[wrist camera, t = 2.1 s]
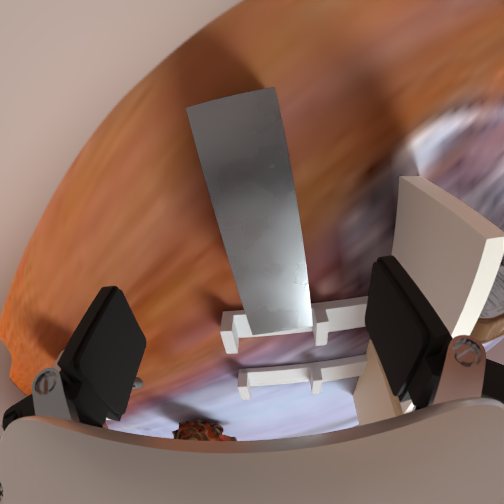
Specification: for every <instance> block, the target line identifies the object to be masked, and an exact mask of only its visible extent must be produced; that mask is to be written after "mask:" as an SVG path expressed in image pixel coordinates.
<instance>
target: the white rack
mask: <svg viewBox="0 0 504 504" xmlns="http://www.w3.org/2000/svg"><path fill="white" fill-rule="evenodd" d="M503 254H504V232H503V231H502V230H501V229H499V228H498V227H497V226H495V225H494V224H493V223H492V222H490V221H489V220H488V219H486V218H485V217H483V216H482V215H481V214H479V213H478V212H477V211H475V210H474V209H472V208H471V207H469V206H468V205H466V204H465V203H463V202H462V201H460V200H459V199H457V198H456V197H454V196H453V195H451V194H450V193H448V192H446V191H445V190H443V189H442V188H440V187H438V186H437V185H435V184H433V183H432V182H430V181H428V180H426V179H425V178H423V177H421V176H399V188H398V203H397V214H396V224H395V232H394V240H393V248H392V254H391V256H394V257H395V258H396V259H397V260H398V261H399V263H400V264H401V265H402V266H403V268H404V269H405V270H406V272H407V273H408V274H409V275H410V277H411V278H412V279H413V281H414V282H415V283H416V285H417V286H418V287H419V289H420V290H421V292H422V293H423V294H424V296H425V297H426V298H427V300H428V301H429V303H430V304H431V305H432V307H433V308H434V310H435V311H436V313H437V314H438V316H439V317H440V319H441V320H442V322H443V323H444V325H445V326H446V328H447V329H448V331H449V332H450V335H451V336H452V338H454V337H456V336H459V335H469V336H470V334H471V332H472V330H473V328H474V326H475V324H476V322H477V320H478V318H479V316H480V313H481V311H482V309H483V307H484V305H485V302H486V300H487V298H488V295H489V293H490V290H491V288H492V285H493V283H494V280H495V277H496V275H497V272H498V269H499V266H500V263H501V260H502V257H503ZM367 301H368V296H364V297H357V298H350V299H343V300H335V301H327V302H319V303H311V311H312V321H313V326H309V327H304V328H298V329H292V330H286V331H279V332H273V333H266V334H259V335H252V332H251V329H250V326H249V323H248V320H247V317H246V314H245V311H244V310H237V311H223V314H222V321H221V328H220V333H221V336H222V340H223V343H224V346H225V349H226V353H227V354H229V353H238V342H239V338H243V337H258V336H270V335H281V334H291V333H300V332H309V331H313V334H314V339H315V345H316V346H321V345H327V337H328V332H333V331H340V330H347V329H353V328H359V327H365V312H366V307H367ZM356 376H359V378H358V382H357V385H356V388H355V391H354V394H353V399H354V403H355V407H356V412H357V416H358V421H359V425H360V426H361V425H365V424H370V423H374V422H378V421H381V420H385V419H389V418H392V417H396V416H399V415H402V414H406V413H409V412H412V410H413V407H414V405H413V403H412V401H411V399H410V400H407V401H404V402H401V403H400V401H399V398H398V396H394V395H393V393H392V391H391V388H390V385H389V383H388V380H387V377H386V375H385V372H384V370H383V367H382V365H381V362H380V359H379V357H378V355H377V352H376V350H375V347H374V345H373V342H372V340H371V339H370V340H369V344H368V348H367V351H366V354H364V355H358V356H353V357H347V358H341V359H335V360H328V361H321V362H313V363H305V364H296V365H286V366H275V367H262V368H245V369H239V374H238V389H239V392H240V395H241V398H242V400H246V399H251V386H262V385H276V384H287V383H297V382H306V381H310V383H311V390H312V394H317V393H321V387H322V382H327V381H333V380H339V379H345V378H351V377H356Z"/></svg>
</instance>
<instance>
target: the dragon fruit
mask: <svg viewBox="0 0 504 504" xmlns="http://www.w3.org/2000/svg"><path fill="white" fill-rule="evenodd" d="M222 432H223V428H222V427H221V426H220V425H219V424H212V425H209V423H208V422H206V421H204V420H200V419H195V420H194V421H193V422H189V421H183V422H181V423H179V429H178V430H176V431H173V432H172V433H173V435H174V439H180V440H195V441H237V440H236V438H235V437H229V436H226V435H222Z"/></svg>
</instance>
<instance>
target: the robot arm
mask: <svg viewBox="0 0 504 504" xmlns="http://www.w3.org/2000/svg"><path fill="white" fill-rule="evenodd" d="M365 326H366V328H367V331H368V333H369V335H370V338H371V340H372V342H373V345H374V347H375V350H376V352H377V355H378V357H379V359H380V362H381V365H382V367H383V370H384V372H385V375H386V377H387V380H388V383H389V385H390V388H391V391H392V393H393V395H394V396H398V398H399V401H400V403H401V402H404V401H407V400H410V399H411V401H412V403H413V405H414V407H413V410H412V412H409V413H406V414H402V415H399V416H396V417H392V418H389V419H385V420H381V421H378V422H374V423H370V424H365V425H361V426H357V427H353V428H348V429H343V430H338V431H333V432H327V433H322V434H315V435H309V436H301V437H293V438H283V439H272V440H257V441H195V440H180V439H169V438H159V437H151V436H144V435H137V434H131V433H125V432H120V431H115V430H110V429H108V427H107V424H106V422H105V420H106V417H107V418H108V419H110V420H116V421H120V419H121V416H122V415H123V414H124V413H125V411H126V408H127V404H128V401H129V398H130V394H131V391H132V388H133V384H134V381H135V378H136V375H137V372H138V369H139V366H140V363H141V360H142V357H143V354H144V351H145V348H146V338H145V336H144V334H143V332H142V331H141V329H140V327H139V325H138V323H137V321H136V319H135V317H134V315H133V313H132V311H131V309H130V307H129V304H128V302H127V300H126V298H125V296H124V294H123V292H122V290H120V289H118V287H116V286H109V287H102V288H101V290H100V291H99V293H98V294H97V296H96V297H95V299H94V301H93V302H92V304H91V305H90V307H89V308H88V310H87V312H86V313H85V315H84V317H83V318H82V320H81V322H80V323H79V325H78V327H77V328H76V330H75V332H74V333H73V335H72V337H71V339H70V341H69V342H68V344H67V346H66V348H65V350H64V351H63V353H62V355H61V357H60V359H59V361H58V363H57V365H58V366H59V367H60V368H61V370H60V372H59V371H58V370H57V369H55V368H46V369H44V370H42V371H41V372H39V374H38V375H37V376H36V377H35V379H34V381H33V384H32V394H31V395H29V396H28V397H26V398H24V399H23V400H21V401H20V402H18V403H16V404H15V405H13V406H11V407H10V408H9V409H8V410H6V412H5V413H4V417H3V426H2V425H0V504H504V365H502V364H499V363H497V362H494V361H491V360H489V359H486V352H485V349H484V347H483V345H482V344H481V343H480V342H479V341H478V340H477V339H476V338H474V337H472V336H469V335H459V336H456V337H454V338H452V336H451V335H450V332H449V331H448V329H447V328H446V326H445V325H444V323H443V322H442V320H441V319H440V317H439V316H438V314H437V313H436V311H435V310H434V308H433V307H432V305H431V304H430V303H429V301H428V300H427V298H426V297H425V296H424V294H423V293H422V292H421V290H420V289H419V287H418V286H417V285H416V283H415V282H414V281H413V279H412V278H411V277H410V275H409V274H408V273H407V272H406V270H405V269H404V268H403V266H402V265H401V264H400V263H399V261H398V260H397V259H396V258H395V257H394V256H385V257H379V258H378V259H377V262H374V263H373V267H372V275H371V282H370V288H369V295H368V301H367V307H366V312H365Z"/></svg>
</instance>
